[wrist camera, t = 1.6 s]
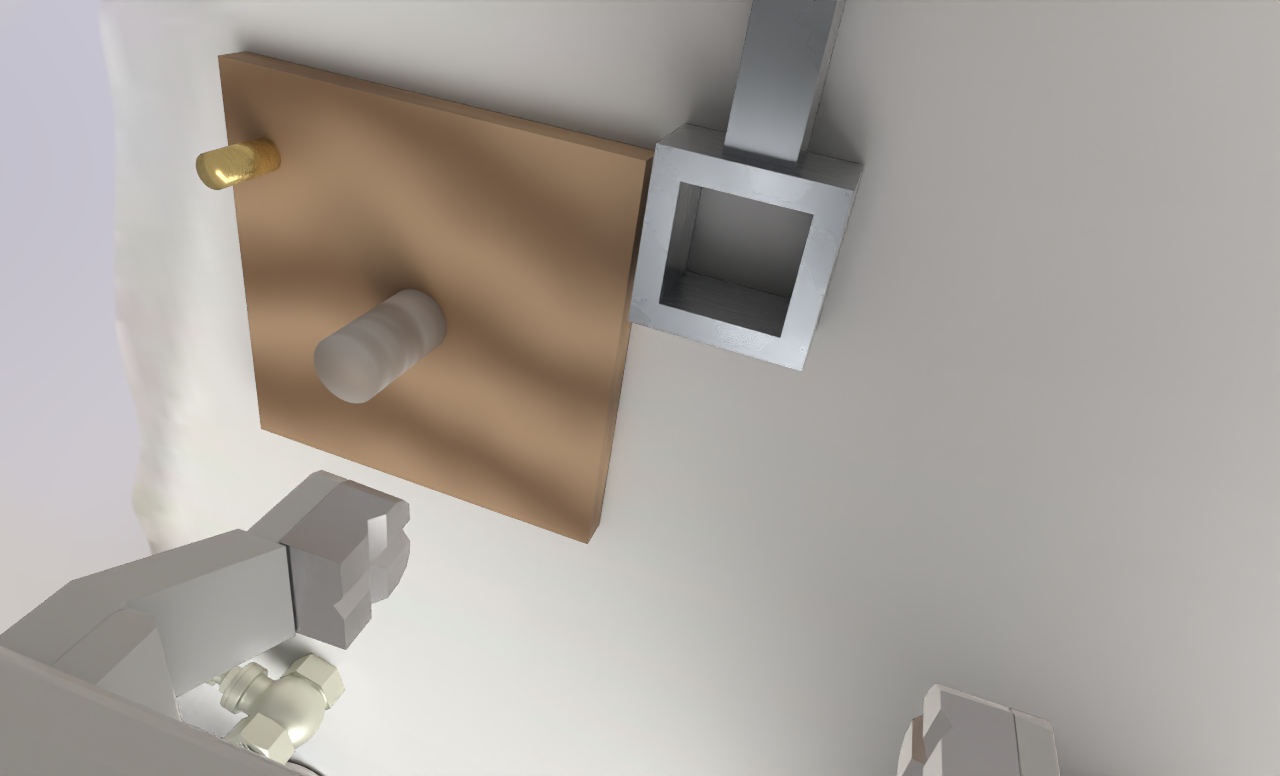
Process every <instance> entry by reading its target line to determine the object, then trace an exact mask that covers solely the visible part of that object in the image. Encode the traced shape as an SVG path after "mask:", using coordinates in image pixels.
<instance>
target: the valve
mask: <svg viewBox="0 0 1280 776" xmlns="http://www.w3.org/2000/svg"><path fill="white" fill-rule="evenodd" d="M267 675H268V671H267V669H265V668H264V667H262V666H260V665H259V664H257V663H255V662H251V663H249V664H248V665H246V666H245V667H244V668H241V667H239V666H236V667H234V668H232V669H230V670H228V671H226V672H224V673H222V674H220V675H218V676H216V677H214V678H212V679H211V680H209V681H207V682H206V683H207V684H209V685H214V684H215V683H217V684H219V685H220V687H219V691H220V692H222V693H224V694H223V696H222V698H221V706H222V707H224V708H225V709H227V710H229V711H230V712H232V713H234V714H237V713H239V712H241V711H242V712H244V713H246V714H247V715H248V717H246V718H243V719H242V720H241V721H240V722H239V723H238V724H237V725H236V726H235V727H234V728H233V729H232V730H231V732H230V733H229V734H228V735H227V736H226V737H225V738H224V739H225V740H227V741H229V742H232V743H234V744H237V745H239V746H241V747H244V748H246V749H248V750H251V751H253V752H256V753H258V754H260V755H263V756H265V757H268V758H270V759H272V760H275V761H277V762H279V763H282V764H284V765H285V764H286V762H287V761H288V760H289V759H290V757H291V756H292V755H293V754H294V752H295V750H294V749H296V748H298V747H300V746H301V745H303V744H304V743H306V742H307V741H308V740H309V739H310V738H311V737H312V736H313V735H314V734H315V732H316V731H317V729H318V728H319V726H320V724H321V722H322V719H323V716H324V712H325V710H327V709H330V708H331V707H332V706H333V704H334V703H335V702H336V701H337V699H338V698H339V697H340V696H341V695H342V693H343V692H344V691H345V688H344V685H343V683H342V680H341V677H340V675H339V672H338V670H337V668H336V667H334V666H332V665H331V664H329V663H327V662H326V661H324V660H322V659H321V658H319V657H317V656H316V655H314V654H309V655H307V656H304V657H302V658H300V659H297V660H296V661H295V662H294V663H293V664H292V665H291V666H290V667H289V668H288V669H287V670H286V671H285V673H284V674H283V675H282V676H281V677H280V679H278V680H272V679H270V678H269V677H267Z"/></svg>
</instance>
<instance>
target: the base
mask: <svg viewBox="0 0 1280 776" xmlns="http://www.w3.org/2000/svg"><path fill="white" fill-rule="evenodd" d="M218 61H219V69H220V78H221V87H222V95H223V104H224V112H225V121H226V130H227V138H228V146H231V145H235V144H238V143H242V142H245V141H249V140H253V139H256V138H260V137H264V138H267V139H269V140H271V141H272V142H273V143H274V144H275V145H276V147H277V148H278V150H279V152H280V155H281V165H280V167H279V169H278V170H276V171H274V172H271V173H268V174H265V175H262V176H259V177H256V178H253V179H250V180H247V181H244V182H241V183H238V184H235V185H233V190H234V199H235V207H236V216H237V225H238V233H239V242H240V251H241V259H242V268H243V277H244V285H245V294H246V302H247V311H248V320H249V328H250V337H251V346H252V354H253V363H254V372H255V380H256V389H257V397H258V406H259V415H260V423H261V429H263V430H266V431H269V432H272V433H274V434H277V435H280V436H283V437H286V438H289V439H291V440H294V441H297V442H300V443H303V444H306V445H308V446H311V447H314V448H317V449H320V450H323V451H325V452H328V453H331V454H334V455H337V456H340V457H342V458H345V459H348V460H351V461H354V462H356V463H359V464H362V465H365V466H368V467H371V468H373V469H376V470H379V471H382V472H385V473H388V474H390V475H393V476H396V477H399V478H402V479H405V480H407V481H410V482H413V483H416V484H419V485H422V486H424V487H427V488H430V489H433V490H436V491H439V492H441V493H444V494H447V495H450V496H453V497H456V498H458V499H461V500H464V501H467V502H470V503H473V504H475V505H478V506H481V507H484V508H487V509H490V510H492V511H495V512H498V513H501V514H504V515H507V516H509V517H512V518H515V519H518V520H521V521H523V522H526V523H529V524H532V525H535V526H538V527H540V528H543V529H546V530H549V531H552V532H555V533H557V534H560V535H563V536H566V537H569V538H572V539H574V540H577V541H580V542H583V543H586V544H588V542H589V541H590V539H591V537H592V536H593V534H594V532H595V531H596V529H597V528H598V526H599V522H600V516H601V510H602V504H603V498H604V491H605V485H606V479H607V473H608V467H609V460H610V454H611V448H612V442H613V435H614V429H615V423H616V417H617V411H618V404H619V398H620V392H621V386H622V380H623V373H624V367H625V361H626V355H627V348H628V342H629V336H630V330H631V324H632V322H629V321H628V318H629V311H630V305H631V299H632V292H633V286H634V280H635V273H636V267H637V261H638V254H639V248H640V242H641V235H642V229H643V223H644V216H645V210H646V204H647V197H648V191H649V185H650V178H651V172H652V166H653V160H654V153H655V151H653V150H649V149H645V148H641V147H637V146H633V145H628V144H624V143H620V142H616V141H612V140H608V139H604V138H600V137H596V136H591V135H587V134H583V133H579V132H575V131H571V130H567V129H563V128H558V127H554V126H550V125H546V124H542V123H538V122H534V121H530V120H526V119H521V118H517V117H513V116H509V115H505V114H501V113H497V112H493V111H488V110H484V109H480V108H476V107H472V106H468V105H464V104H460V103H456V102H451V101H447V100H443V99H439V98H435V97H431V96H427V95H423V94H418V93H414V92H410V91H406V90H402V89H398V88H394V87H390V86H385V85H381V84H377V83H373V82H369V81H365V80H361V79H357V78H353V77H348V76H344V75H340V74H336V73H332V72H328V71H324V70H320V69H315V68H311V67H307V66H303V65H299V64H295V63H291V62H287V61H283V60H278V59H274V58H270V57H266V56H262V55H258V54H254V53H250V52H239V53H232V54H225V55H219V56H218Z"/></svg>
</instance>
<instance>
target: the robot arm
mask: <svg viewBox="0 0 1280 776" xmlns="http://www.w3.org/2000/svg"><path fill="white" fill-rule="evenodd" d="M409 520H410V512H409V503H407V502H406V501H404V500H402V499H399V498H397V497H394V496H391V495H389V494H386V493H383V492H381V491H378V490H375V489H373V488H370V487H367V486H365V485H362V484H359V483H357V482H354V481H351V480H347V479H345V478H342V477H339V476H337V475H334V474H331V473H329V472H326V471H323V470H320V471H317V472H314V473H312V474H310V475H309V476H308V477H307V478H306V479H305V480H304V481H303V482H301V483H300V484H299V485H298V486H297V487H296V488H295V489H294V490H292V491H291V492H290V493H289V494H288V495H287V496H286V497H285V498H284V499H282V500H281V501H280V502H279V503H278V504H277V505H276V506H275V507H273V508H272V509H271V510H270V511H269V512H268V513H267V514H266V515H265V516H263V517H262V518H261V519H260V520H259V521H258V522H257V523H256V524H254V525H253V526H252V527H251V528H250V529H249V530H248V531H247V532H246V531H243V530H240V529H236V530H233V531H230V532H226V533H223V534H220V535H217V536H214V537H210V538H207V539H204V540H201V541H197V542H194V543H191V544H188V545H185V546H181V547H178V548H175V549H172V550H169V551H165V552H162V553H159V554H156V555H152V556H149V557H146V558H143V559H140V560H137V561H134V562H130V563H127V564H124V565H120V566H117V567H114V568H111V569H108V570H104V571H101V572H98V573H95V574H91V575H89V576H85V577H82V578H79V579H75V580H72V581H70V582H69V583H68V584H66V585H65V586H64V587H62V588H61V589H60V590H58V591H57V592H56V593H55V594H53V595H52V596H51V597H49V598H48V599H47V600H45V601H44V602H43V603H41V604H40V605H39V606H38V607H36V608H35V609H34V610H33V611H31V612H30V613H28V614H27V615H26V616H25V617H23V618H22V619H21V620H19V621H18V622H17V623H16V624H14V625H13V626H12V627H10V628H9V629H8V630H6V631H5V632H4V633H2V634H1V635H0V776H310V775H308V774H306V773H303V772H301V771H299V770H296V769H294V768H291V767H289V766H287V765H284V764H282V763H279V762H277V761H275V760H272V759H270V758H268V757H265V756H263V755H260V754H258V753H256V752H253V751H251V750H248V749H246V748H244V747H241V746H239V745H237V744H234V743H232V742H229V741H227V740H225V739H222V738H220V737H218V736H215V735H213V734H210V733H208V732H206V731H203V730H201V729H198V728H196V727H194V726H191V725H189V724H187V723H184V722H182V720H181V716H180V712H179V708H178V704H177V700H176V697H178V696H180V695H182V694H184V693H185V692H187V691H189V690H191V689H193V688H195V687H197V686H199V685H201V684H203V683H205V682H207V681H209V680H211V679H212V678H214V677H216V676H218V675H220V674H222V673H224V672H226V671H228V670H230V669H232V668H234V667H236V666H238V665H240V664H241V663H243V662H245V661H247V660H249V659H251V658H253V657H255V656H257V655H259V654H261V653H263V652H265V651H267V650H269V649H270V648H272V647H274V646H276V645H278V644H280V643H282V642H284V641H286V640H288V639H290V638H292V637H294V636H295V635H296V633H299V634H302V635H305V636H308V637H311V638H313V639H316V640H319V641H322V642H325V643H328V644H330V645H333V646H336V647H339V648H342V649H345V650H346V649H347V648H348V647H349V646H350V644H351V643H352V642H353V641H354V639H355V638H356V637H357V636H358V634H359V633H360V632H361V631H362V629H363V628H364V627H365V626H366V624H367V623H368V622H369V621H370V619H371V604H373V603H376V602H378V601H380V600H383V599H385V598H388V597H389V595H390V594H391V593H392V591H393V590H394V589H395V587H396V586H397V585H398V583H399V581H400V579H401V577H402V575H403V573H404V571H405V569H406V567H407V562H408V558H409V553H410V540H409V539H408V537H407V536H406V534H405V533H404V531H403V527H404V526H405V525H406V524H407V523H408V522H409ZM295 632H296V633H295ZM897 776H1060V770H1059V764H1058V758H1057V752H1056V746H1055V739H1054V733H1053V728H1052V727H1051V725H1050V723H1049V722H1048V721H1047V720H1044V719H1041V718H1038V717H1035V716H1032V715H1029V714H1026V713H1023V712H1020V711H1017V710H1014V709H1011V708H1007V707H1006V706H1003V705H1000V704H997V703H994V702H991V701H988V700H985V699H982V698H979V697H976V696H973V695H970V694H967V693H964V692H961V691H958V690H955V689H952V688H949V687H946V686H943V685H940V684H937V683H935V684H934V685H933V686H932V687H931V688H930V689H929V691H928V693H927V694H926V696H925V698H924V704H923V716H920V717H918V718H915V719H913V720H912V722H911V724H910V726H909V728H908V730H907V732H906V734H905V736H904V740H903V743H902V746H901V750H900V753H899V760H898V767H897Z"/></svg>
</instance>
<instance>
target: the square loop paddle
mask: <svg viewBox="0 0 1280 776" xmlns="http://www.w3.org/2000/svg"><path fill="white" fill-rule="evenodd" d="M845 1H846V0H753V4H752V9H751V14H750V19H749V23H748V28H747V33H746V38H745V43H744V48H743V53H742V58H741V63H740V68H739V73H738V78H737V83H736V88H735V93H734V98H733V103H732V108H731V113H730V118H729V123H728V128H727V132H726V133H724V132H720V131H716V130H712V129H707V128H703V127H699V126H694V125H690V124H684V125H683V126H681V127H680V128H678V129H677V130H675V131H674V132H672V133H671V134H669V135H668V136H666V137H665V138H663V139H662V140H660V141H659V142H657V143H656V147H655V153H654V160H653V166H652V172H651V178H650V185H649V191H648V197H647V204H646V210H645V216H644V223H643V229H642V235H641V242H640V248H639V254H638V261H637V267H636V273H635V280H634V286H633V292H632V299H631V305H630V311H629V318H628V321H629V322H633V323H636V324H640V325H643V326H646V327H650V328H653V329H657V330H660V331H664V332H667V333H671V334H674V335H678V336H681V337H684V338H688V339H691V340H695V341H698V342H702V343H705V344H709V345H712V346H715V347H719V348H722V349H726V350H729V351H733V352H736V353H740V354H743V355H747V356H750V357H753V358H757V359H760V360H764V361H767V362H771V363H774V364H778V365H781V366H784V367H788V368H791V369H795V370H798V371H802V369H803V366H804V363H805V360H806V357H807V354H808V352H809V349H810V346H811V343H812V340H813V337H814V334H815V331H816V328H817V325H818V321H819V318H820V314H821V311H822V308H823V304H824V301H825V298H826V294H827V291H828V287H829V284H830V281H831V277H832V274H833V270H834V267H835V264H836V260H837V257H838V254H839V250H840V247H841V243H842V240H843V237H844V233H845V230H846V227H847V223H848V220H849V216H850V213H851V210H852V206H853V203H854V199H855V196H856V193H857V189H858V186H859V183H860V179H861V176H862V172H863V169H864V166H865V165H861V164H857V163H853V162H849V161H844V160H840V159H836V158H831V157H827V156H823V155H819V154H814V153H810V152H807V150H808V146H809V142H810V138H811V134H812V130H813V126H814V122H815V118H816V114H817V111H818V107H819V103H820V99H821V95H822V91H823V87H824V83H825V79H826V75H827V71H828V68H829V64H830V60H831V56H832V52H833V48H834V44H835V40H836V36H837V32H838V29H839V25H840V21H841V17H842V13H843V9H844V5H845ZM702 187H705V188H709V189H713V190H717V191H721V192H725V193H729V194H733V195H737V196H741V197H745V198H749V199H753V200H757V201H761V202H765V203H769V204H773V205H777V206H781V207H785V208H789V209H793V210H797V211H801V212H805V213H809V214H813V215H814V216H813V219H812V223H811V227H810V230H809V234H808V238H807V241H806V245H805V249H804V252H803V256H802V260H801V263H800V267H799V271H798V275H797V278H796V282H795V286H794V289H793V293H792V297H791V299H789V298H785V297H781V296H778V295H774V294H770V293H767V292H763V291H759V290H756V289H752V288H748V287H745V286H741V285H737V284H734V283H730V282H726V281H723V280H719V279H715V278H712V277H708V276H704V275H701V274H697V273H693V272H690V271H686V265H687V260H688V255H689V250H690V245H691V239H692V234H693V229H694V224H695V219H696V214H697V208H698V203H699V198H700V193H701V188H702Z"/></svg>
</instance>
